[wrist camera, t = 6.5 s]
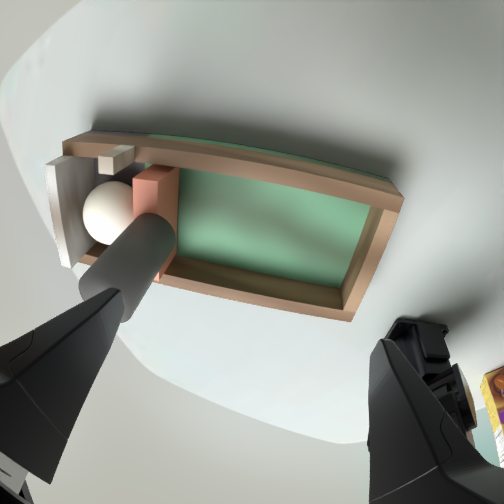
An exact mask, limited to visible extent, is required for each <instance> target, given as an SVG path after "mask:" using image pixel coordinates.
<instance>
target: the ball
mask: <svg viewBox="0 0 504 504" xmlns="http://www.w3.org/2000/svg"><path fill="white" fill-rule="evenodd" d="M83 221H84V224H85V227H86V229H87V231H88V232H89V234H90V235H91V236H92V237H93V238H94V239H96V240H97V241H99V242H101V243H104V244H107V245H111V243H112V242H113V241H114V240H115V239H116V238H117V237H118V236H119V235H120V234H121V233H122V232H123V231H124V230H125V229H126V228H127V227H128V226H129V225H130V224H131V223H132V222H133V221H134V211H133V188H132V187H131V186H129V185H127V184H125V183H122V182H118V181H110V182H105V183H103V184H101V185H99V186H97V187H96V188H95V189H93V190H92V191H91V193H90V194H89V195H88V197H87V199H86V201H85V203H84V207H83Z"/></svg>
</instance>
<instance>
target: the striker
mask: <svg viewBox="0 0 504 504" xmlns="http://www.w3.org/2000/svg"><path fill="white" fill-rule="evenodd" d="M179 174H180V167H173V166H165V165H158V164H152V165H151V166H149V167H148V168H146V169H145V170H144V171H142V172H141V173H139V174H138V175H136V176H135V177H134V178H133V211H134V221H133V222H132V223H131V224H130V225H129V226H128V227H127V228H126V229H125V230H124V231H123V232H122V233H121V234H120V235H119V236H118V237H117V238H116V239H115V240H114V241H113V242H112V243H111V245H110V246H109V247H108V248H107V249H106V250H105V251H104V252H103V253H102V254H101V255H100V257H99V258H98V259H97V260H96V261H95V262H94V263H93V264H92V265H91V267H90V268H89V269H88V270H87V271H86V272H85V273H84V275H83V276H82V277H81V278H80V280H79V291H80V294H81V297H82V299H83V300H84V301H86V300H87V299H89V298H91V297H93V296H95V295H97V294H98V293H100V292H102V291H104V290H106V289H108V288H110V287H113V288H117V289H120V290H121V291H122V295H123V300H124V305H125V311H124V315H123V317H122V320H121V322H120V323H123V322H126V321H128V320H129V319H130V318H131V316H132V315H133V313H134V311H135V310H136V308H137V306H138V305H139V303H140V301H141V300H142V298H143V296H144V295H145V293H146V291H147V290H148V288H149V287H150V285H151V283H152V282H153V280H157V281H160V279H161V277H162V276H163V274H164V272H165V271H166V269H167V267H168V266H169V264H170V263H171V261H172V259H173V258H174V256H175V254H176V253H177V218H178V193H179Z"/></svg>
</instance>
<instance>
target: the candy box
mask: <svg viewBox="0 0 504 504" xmlns="http://www.w3.org/2000/svg"><path fill="white" fill-rule="evenodd" d="M480 388H481V391H482V394H483V397H484V400H485V404H486V407H487V410H488V414H489V417H490V421H491V425H492V429H493V432H494V437H495V442H496V446H497V451H498V456H499V461H500V466H501V468H504V367H502V368H500V369H498V370H495V371H493V372H490V373H487V374H485V376H484V378H483V381H482V384H481V387H480Z"/></svg>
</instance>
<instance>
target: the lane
mask: <svg viewBox="0 0 504 504" xmlns="http://www.w3.org/2000/svg"><path fill="white" fill-rule="evenodd" d="M62 146H63V156H61V157H59V158H57V159H55V160H53V161H51V162H49V163H47V164H45V174H46V183H47V191H48V198H49V204H50V211H51V216H52V222H53V227H54V233H55V238H56V242H57V247H58V251H59V256H60V260H61V264H62V266H65V267H68V268H71V269H72V267H73V266H74V265H75V264H76V263H77V262H80V263H84V264H87V265H92V264H93V263H94V262H95V261H96V260H97V259H98V258H99V257H100V255H101V254H102V253H103V252H104V251H105V250H106V249H107V248H108V247H109V246H110V245H107V244H104V243H101V242H99V241H97V240H96V239H94V238H93V237H92V236H91V235H90V234H89V232H88V231H87V229H86V227H85V224H84V221H83V207H84V203H85V201H86V199H87V197H88V195H89V194H90V193H91V191H92V190H93V189H95V188H96V187H97V186H99V185H101V184H103V183H105V182H110V181H118V182H122V183H125V184H127V185H129V186H131V187H132V188H133V178H134V177H135V176H136V175H138V174H139V173H141V172H142V171H144V170H145V169H146V168H148V167H149V166H151V165H152V164H158V165H165V166H173V167H180V174H179V193H178V218H177V253H176V254H175V256H174V258H173V259H172V261H171V263H170V264H169V266H168V267H167V269H166V271H165V272H164V274H163V276H162V277H161V279H160V281H157V280H153V282H155V283H159V284H164V285H168V286H172V287H176V288H180V289H185V290H189V291H193V292H198V293H202V294H206V295H211V296H216V297H220V298H225V299H229V300H234V301H239V302H244V303H249V304H253V305H258V306H263V307H269V308H274V309H279V310H284V311H289V312H295V313H300V314H306V315H311V316H317V317H323V318H329V319H335V320H341V321H347V322H351V321H352V319H353V317H354V315H355V313H356V311H357V309H358V307H359V305H360V303H361V301H362V299H363V297H364V295H365V292H366V290H367V288H368V286H369V284H370V282H371V279H372V277H373V275H374V273H375V271H376V268H377V266H378V264H379V261H380V259H381V257H382V254H383V252H384V250H385V247H386V245H387V242H388V240H389V237H390V235H391V232H392V230H393V227H394V225H395V222H396V220H397V217H398V214H399V212H400V209H401V206H402V203H403V201H404V197H403V196H402V194H401V193H400V192H399V191H398V190H397V188H396V187H395V186H394V185H393V183H392V182H391V181H390V180H389V179H388V178H384V177H381V176H377V175H374V174H370V173H367V172H363V171H359V170H356V169H352V168H348V167H344V166H340V165H336V164H332V163H328V162H324V161H319V160H315V159H311V158H306V157H302V156H297V155H292V154H287V153H282V152H277V151H272V150H267V149H261V148H256V147H250V146H244V145H238V144H232V143H225V142H218V141H211V140H204V139H196V138H188V137H179V136H169V135H159V134H148V133H135V132H119V131H96V130H90V131H88V132H85V133H82V134H80V135H77V136H75V137H72V138H70V139H67V140H65V141H63V142H62Z"/></svg>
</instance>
